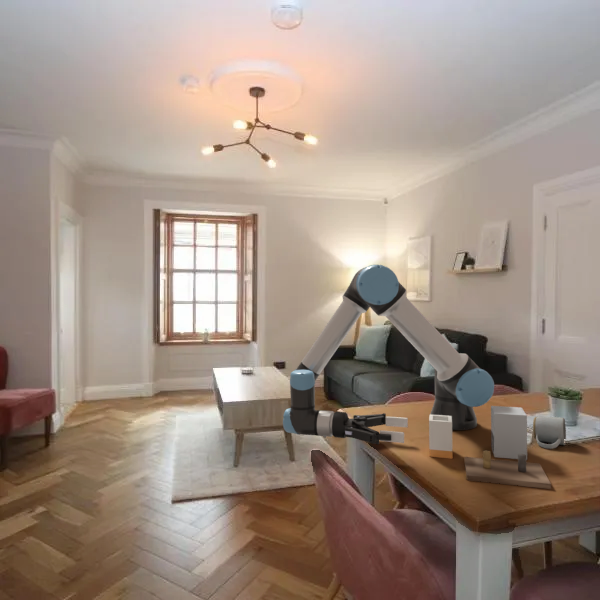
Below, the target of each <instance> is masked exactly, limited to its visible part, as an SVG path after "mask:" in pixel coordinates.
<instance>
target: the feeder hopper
mask: <svg viewBox="0 0 600 600" xmlns="http://www.w3.org/2000/svg"><path fill="white" fill-rule="evenodd" d="M490 422H491V423H490V424H491V425H490V427H491V428H490V432H491V434H490V435H491V436H490V438H491V440H490V441H491V445H490V446H491V450H492V453H493V457H494V458H501V459H512V460H518V454H520V453H521V454H525V455H526V461H527V460H528V415H527V413H526V412H525V411H524V409H523V407H520V406H519V407H517V406H504V405H503V406H501V405H491V406H490Z"/></svg>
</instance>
